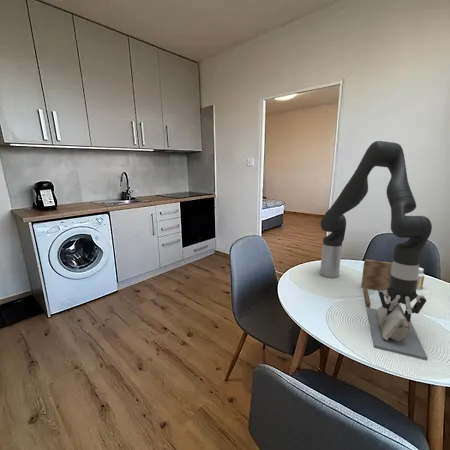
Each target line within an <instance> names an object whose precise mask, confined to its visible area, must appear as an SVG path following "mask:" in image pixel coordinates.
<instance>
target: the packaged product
mask: <svg viewBox="0 0 450 450" xmlns="http://www.w3.org/2000/svg"><path fill="white" fill-rule="evenodd" d="M390 298H391V297H389V298H388V299H386V300H385V302H386V304H388V303H389V300H390ZM377 309H378V310H377V311H376V312H377V316H378V322H379V326H380V329H381V332H382V337H383V339H385V340H388V339H389V337H390V338H392V339H394V340H395V341H398V342H399V341H400V340H401V339H402V338H403V337H404V336H405V335H406V334H407V333H408V332H409V330H410V326H409V323H408V321H407V319H406V316H405V311H404V309H403V307H402V304H401V303H397V304H396V306H394V308H393V310H392V312H391V313H390V314H389V315H388V316H387V315H386V314H387V309H386V308H383V306H382V305H380V307H378V308H377Z"/></svg>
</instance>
